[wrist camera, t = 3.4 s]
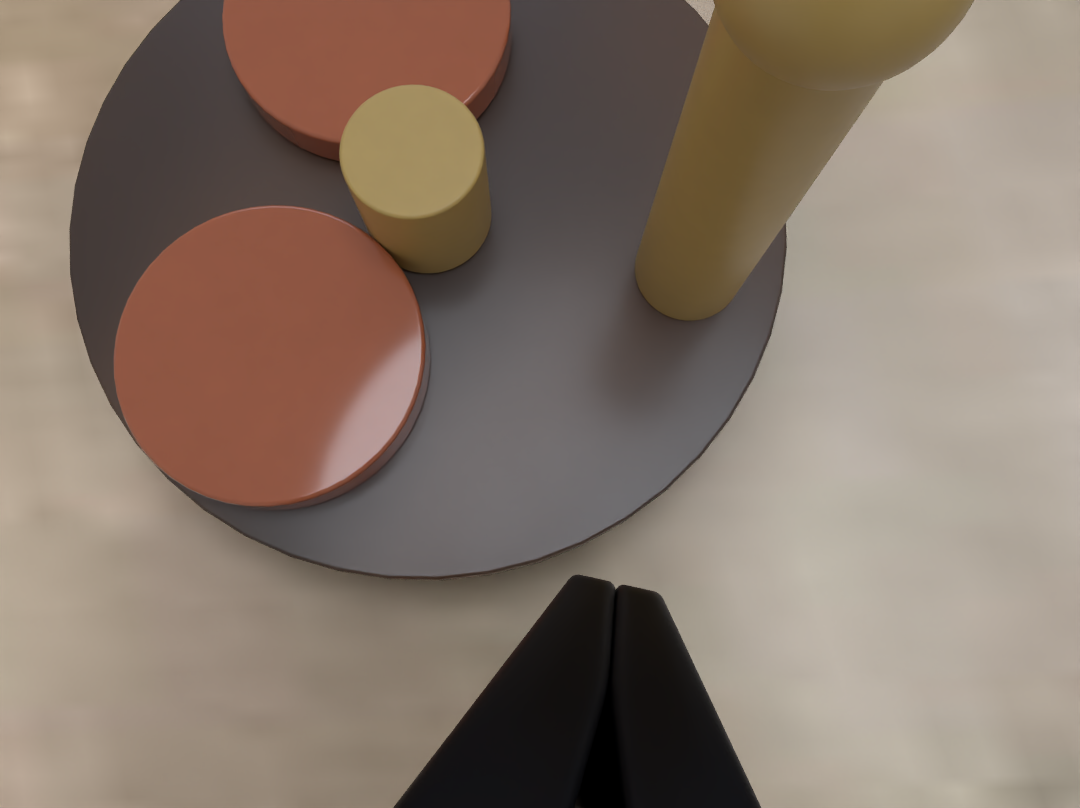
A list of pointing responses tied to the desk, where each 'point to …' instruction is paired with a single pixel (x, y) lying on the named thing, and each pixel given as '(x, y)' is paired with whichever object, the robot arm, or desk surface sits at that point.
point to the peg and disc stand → (455, 254)
